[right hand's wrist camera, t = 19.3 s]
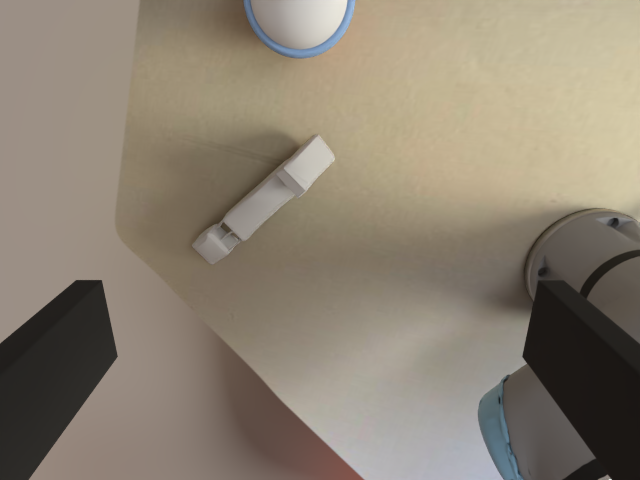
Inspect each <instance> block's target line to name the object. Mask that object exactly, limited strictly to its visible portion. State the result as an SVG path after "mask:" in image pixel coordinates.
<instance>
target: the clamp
mask: <svg viewBox="0 0 640 480" xmlns="http://www.w3.org/2000/svg"><path fill="white" fill-rule="evenodd" d="M334 159H335V157H334V154H333V152H332V151H331V150H330V148H329V147H328V146H327V145H326V143H325V142H324V141H323V139H322V138H321V137H320V136H319V134H315V135H313V136H312V137H311V138H310V139H309V140H307V141H306V142H305V143H304V144H303V145H302V146H301V147H300V148H299V149H298V150H297V151H296V152H295V153H294V154H293V155H292V156H291V158H289V159H287V160H285V161H284V162H283V163H282V164H281V165H280V166H278V167H277V168H276V169H275V170H274V171H273V172H272V173H271V174H270V175H269V176H267V177H266V178H265V179H264V180H263V181H262V182H261V183H260V184H258V185H257V186H256V187H255V188H254V189H253V190H252V191H251V192H250V193H248V194H247V195H246V196H245V197H244V198H243V199H242V200H241V201H239V202H238V203H237V204H236V205H235V206H234V207H233V208H232V209H230V210H229V211H228V212H227V213H226V215H225V217H224V218H223V220H222V221H221V222H220V223H219V224H214V225H212V226H211V227H209V228H207V229H206V230H205V231H204V232H202V233H201V234H200V235H199V236H198V238H197V239H196V240H195V242H194V243H193V244H192V247H193V248H194V249H195V250H196V251H197V252H198V253H199V254H200V255H201V256H202V257H203V258H204V259H206V260H207V261H208V262H209V263H210V264H211V265H212V264H214V263H216V262H218V261H219V260H221V259H222V258H224V257H225V256H227V255H228V254H229V253H230V252H231V251H232V249H233V248H234V247H235V246H236V245H237V244H238V243H240V242H241V241H245V240H247V239H248V238H249V237H250V236H251V235H252V234H253V233H254V232H255V231H256V230H257V229H258V228H259V227H260V226H261V225H262V224H263V223H264V222H265V221H266V220H267V219H268V218H269V217H270V216H271V215H273V214H274V213H275V212H276V211H277V210H278V209H279V208H280V207H282V206H283V205H284V204H285V203H286V202H288V201H289V200H290V199H291V198H293V197H294V196H296V197H297V198H299V197H300V196H301V195H302V194H304V193H305V192H306V191H307V190H308V188H309V187H310V186H311V185H312V184H313V183H314V181H315V180H316V179H317V178H318V177H319V176H320V175H321V174H322V173H323V172H324V171H325V170H326V169H327V168H328V167H329V166H330V165H331V164H332V163H333V161H334ZM223 222H224V223H225V224H226V225H227V226H228V227H229V228H230V229H231V231H230V232H229V233H228V232H226V231H225V230H224V229H222V228H221V227H220V226H221V225H222V223H223ZM233 232H234V233H235V234H236V235H237V236H238V237H239V238H238V239H237V238H236V237H234V236H232V235H231V233H233ZM239 239H241V240H239ZM238 240H239V241H238Z"/></svg>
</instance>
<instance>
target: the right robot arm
mask: <svg viewBox="0 0 640 480" xmlns="http://www.w3.org/2000/svg"><path fill="white" fill-rule="evenodd" d="M525 284H526V288H527V291H528V293H529V295H530V297H531V298H532V300H533V301H534V303H533V308H532V313H531V318H530V322H529V327H528V332H527V337H526V342H525V346H524V351H523V356H522V357H523V358H524V360H525V361H526V362H527V364H526V365H525V366H523V367H522V368H520V369H519V370H517V371H516V372H514V373H513V374H511V375H507V376H505V377H504V378H503V379H502V380H501V382H500V383H499V384H498V385H497V386H496V387H494V388H493V389H492V390H490V391H489V392H488V393H486V394H485V395H484V396H483V397H482V399H481V400H480V403H479V408H478V421H479V426H480V430H481V433H482V436H483V439H484V442H485V444H486V447H487V449H488V451H489V453H490V456H491V458H492V460H493V462H494V464H495V466H496V468H497V469H498V471H499V473H500V475H501V476H502V478H503V479H504V480H640V223H639V222H638V221H637V220H635V219H633V218H632V217H629V216H627V215H625V214H623V213H620V212H617V211H614V210H609V209H589V210H584V211H580V212H577V213H574V214H571V215H569V216H567V217H565V218H563V219H561V220H559V221H558V222H556V223H555V224H553V225H552V226H551V227H550V228H548V229H547V230H546V231H545V232H544V233H543V234H542V235H541V236H540V238H539V239H538V240H537V241H536V243H535V244H534V246H533V248H532V249H531V251H530V253H529V256H528V258H527V262H526V266H525ZM117 357H118V356H117V351H116V346H115V342H114V337H113V332H112V327H111V323H110V318H109V313H108V308H107V303H106V298H105V294H104V289H103V284H102V280H76V281H75V282H74V283H72V284H71V285H70V286H69V287H68V288H66V289H65V290H64V291H63V292H62V293H60V294H59V295H58V296H57V297H56V298H54V299H53V300H52V301H51V302H50V303H48V304H47V305H46V306H45V307H44V308H42V309H41V310H40V311H39V312H38V313H36V314H35V315H34V316H33V317H32V318H30V319H29V320H28V321H27V322H26V323H24V324H23V325H22V326H21V327H20V328H18V329H17V330H16V331H15V332H14V333H12V334H11V335H10V336H9V337H8V338H6V339H5V340H4V341H3V342H2V343H0V480H29V478H30V477H31V476H32V474H33V473H34V471H35V470H36V469H37V467H38V466H39V464H40V463H41V462H42V460H43V459H44V458H45V456H46V455H47V453H48V452H49V451H50V449H51V448H52V447H53V445H54V444H55V442H56V441H57V440H58V438H59V437H60V435H61V434H62V433H63V431H64V430H65V429H66V427H67V426H68V424H69V423H70V422H71V420H72V419H73V418H74V416H75V415H76V413H77V412H78V411H79V409H80V408H81V406H82V405H83V404H84V402H85V401H86V400H87V398H88V397H89V395H90V394H91V393H92V391H93V390H94V389H95V387H96V386H97V384H98V383H99V382H100V380H101V379H102V377H103V376H104V375H105V373H106V372H107V371H108V369H109V368H110V366H111V365H112V364H113V362H114V361H115V360H116V358H117Z"/></svg>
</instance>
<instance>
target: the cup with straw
mask: <svg viewBox="0 0 640 480" xmlns="http://www.w3.org/2000/svg"><path fill="white" fill-rule="evenodd" d="M243 1H244V8H245V12H246V15H247V18H248V21H249V23H250V25H251V27H252V29H253V30H254V32H255V34H256V35H257V36H258V38H259V39H260V40H261V41H262V42H263V43H264V44H265V45H266V46H267V47H269V48H270V49H272V50H273V51H275V52H277V53H279V54H281V55H284V56H287V57H291V58H310V57H314V56H317V55H319V54H322V53H324V52H325V51H327V50H329V49H330V48H331V47H333V46H334V45H335V44H336V43H337V42H338V41H339V40H340V39H341V37H342V36H343V35H344V33H345V31H346V30H347V28H348V26H349V24H350V21H351V18H352V15H353V11H354V6H355V0H243Z"/></svg>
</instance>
